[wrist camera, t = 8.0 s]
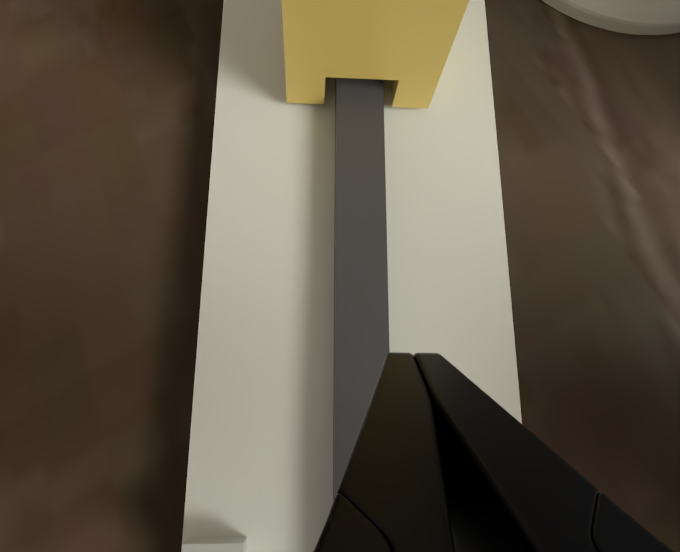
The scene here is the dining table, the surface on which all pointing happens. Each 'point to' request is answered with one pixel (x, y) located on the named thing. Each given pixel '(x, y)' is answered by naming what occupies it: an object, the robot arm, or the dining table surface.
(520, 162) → the dining table surface
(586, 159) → the dining table surface
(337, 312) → the white slide rail base
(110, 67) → the dining table surface
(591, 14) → the candlestick
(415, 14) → the yellow sliding block
